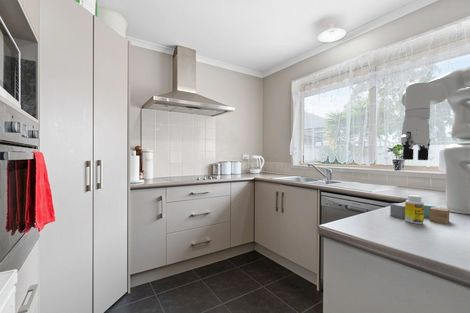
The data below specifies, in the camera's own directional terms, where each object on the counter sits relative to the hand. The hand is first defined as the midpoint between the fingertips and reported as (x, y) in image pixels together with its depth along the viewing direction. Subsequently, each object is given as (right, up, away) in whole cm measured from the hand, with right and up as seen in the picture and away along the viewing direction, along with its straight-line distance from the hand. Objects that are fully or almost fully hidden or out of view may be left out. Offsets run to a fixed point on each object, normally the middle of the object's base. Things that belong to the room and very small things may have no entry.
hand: (415, 159), depth 84 cm
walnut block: (+11, -24, +2) cm, 27 cm away
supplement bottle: (0, -24, 0) cm, 24 cm away
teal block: (+12, -24, +9) cm, 29 cm away
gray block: (0, -24, +8) cm, 25 cm away
